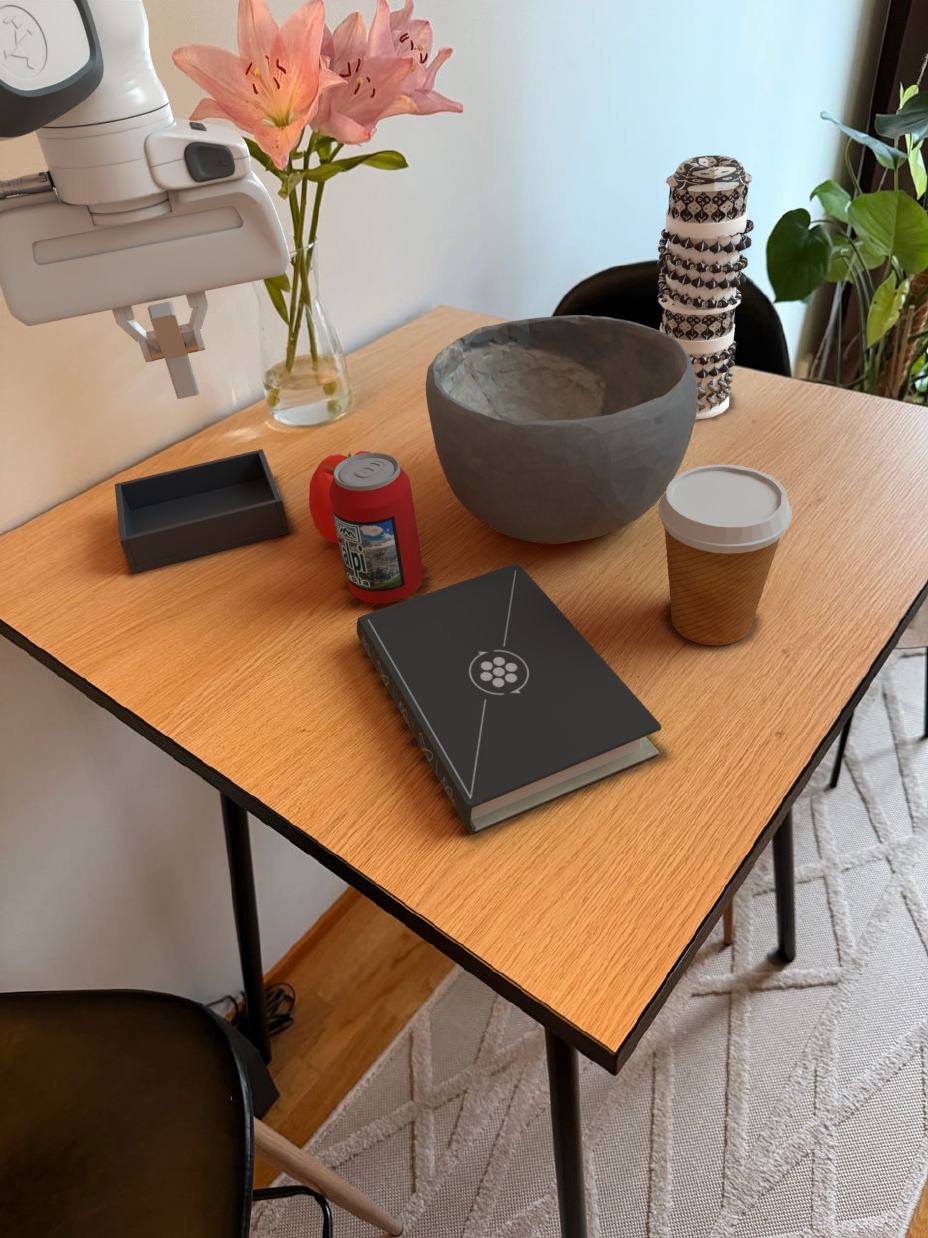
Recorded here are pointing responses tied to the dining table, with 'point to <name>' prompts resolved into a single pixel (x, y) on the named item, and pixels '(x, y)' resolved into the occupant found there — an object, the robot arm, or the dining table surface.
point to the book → (504, 695)
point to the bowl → (561, 423)
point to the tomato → (325, 496)
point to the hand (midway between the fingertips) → (175, 353)
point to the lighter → (173, 349)
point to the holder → (198, 510)
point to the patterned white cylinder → (705, 269)
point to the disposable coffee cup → (720, 547)
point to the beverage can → (376, 527)
